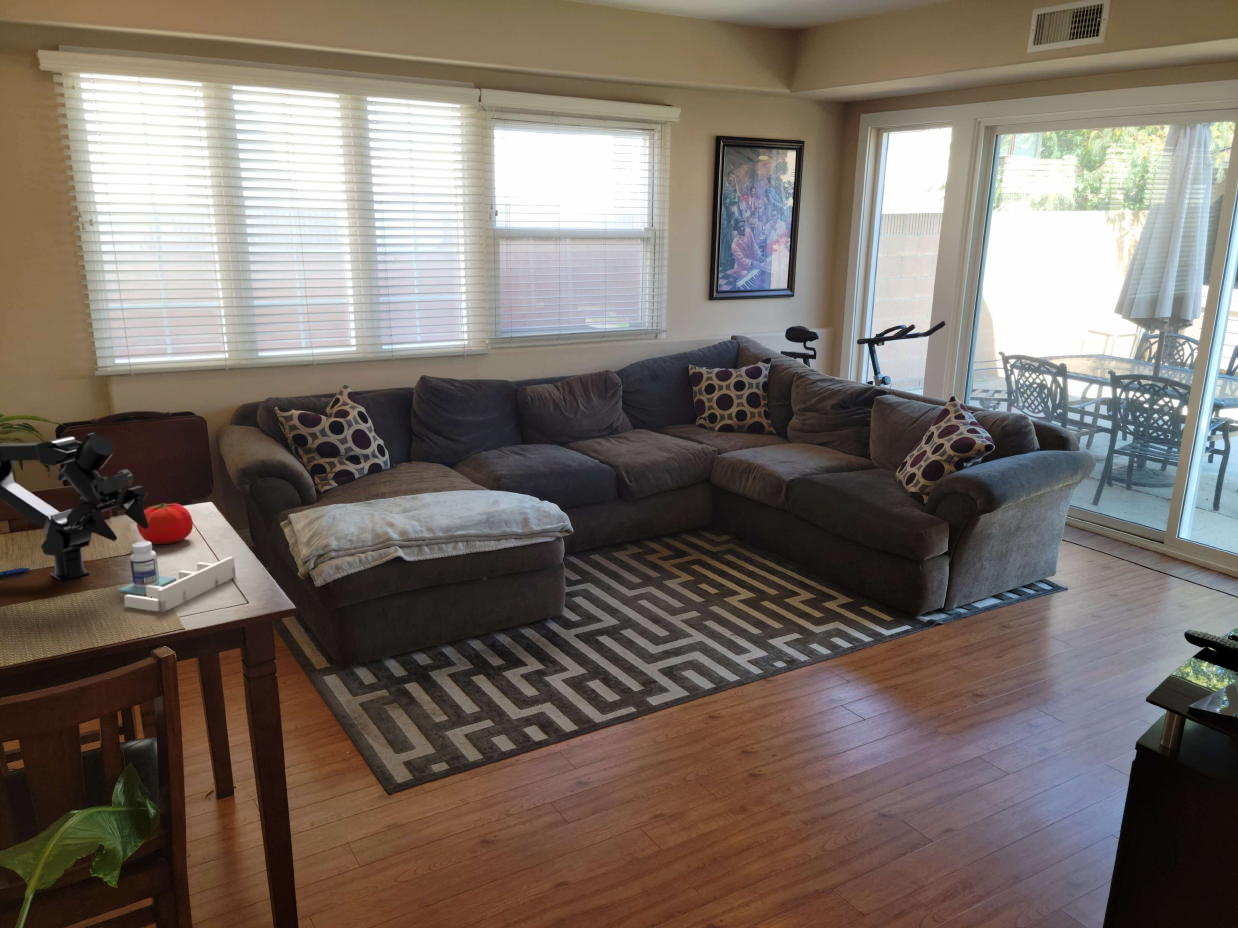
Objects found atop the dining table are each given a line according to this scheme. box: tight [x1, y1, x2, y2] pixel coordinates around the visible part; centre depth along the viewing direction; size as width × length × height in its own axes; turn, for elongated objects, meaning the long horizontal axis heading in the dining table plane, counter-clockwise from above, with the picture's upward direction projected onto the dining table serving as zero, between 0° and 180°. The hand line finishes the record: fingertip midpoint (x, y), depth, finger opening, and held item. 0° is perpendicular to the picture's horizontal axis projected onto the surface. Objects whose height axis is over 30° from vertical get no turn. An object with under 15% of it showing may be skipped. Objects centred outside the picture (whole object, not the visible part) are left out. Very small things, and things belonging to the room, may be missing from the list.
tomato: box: [136, 502, 194, 545], centre depth 237 cm, size 13×12×11 cm
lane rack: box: [123, 556, 236, 613], centre depth 204 cm, size 10×23×5 cm, turn 164°
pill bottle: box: [129, 540, 160, 587], centre depth 206 cm, size 5×5×10 cm
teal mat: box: [117, 575, 177, 596], centre depth 208 cm, size 7×10×1 cm
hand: (131, 533), depth 205 cm, fingers open, 9 cm apart
